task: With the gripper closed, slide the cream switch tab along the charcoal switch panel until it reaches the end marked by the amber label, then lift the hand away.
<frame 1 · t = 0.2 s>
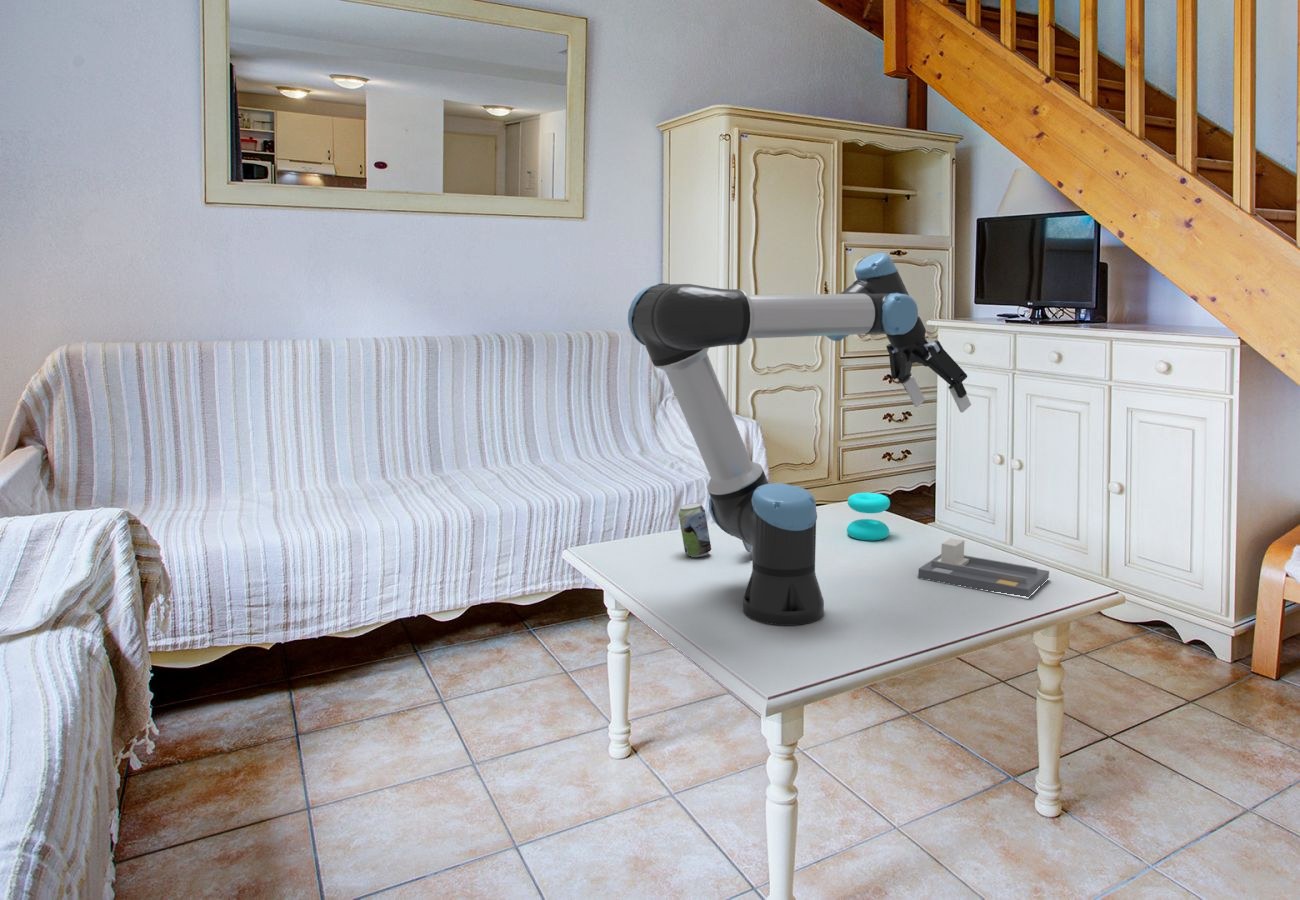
hand: (942, 406, 193), 34 cm above the table, tool tilted 35°, fingers open, 13 cm apart
switch tab: (952, 553, 189), point 4 cm above the table, slide at 0.0 cm
switch panel: (982, 579, 186), on the table
donuts: (867, 537, 218), on the table
pocket watch: (773, 560, 202), on the table
beverage can: (695, 556, 205), on the table
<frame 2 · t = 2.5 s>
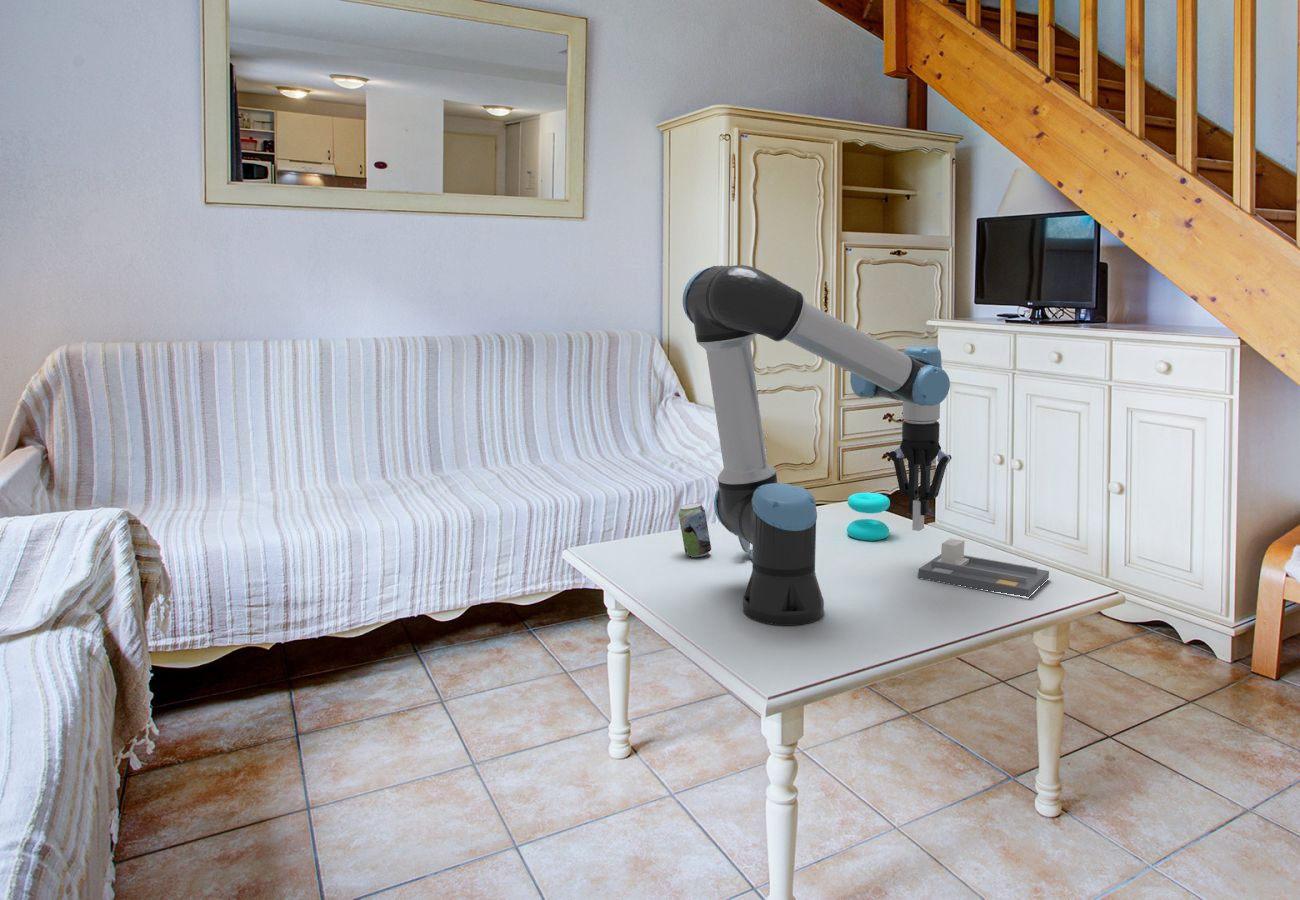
hand: (918, 528, 193), 8 cm above the table, tool pointing down, fingers closed
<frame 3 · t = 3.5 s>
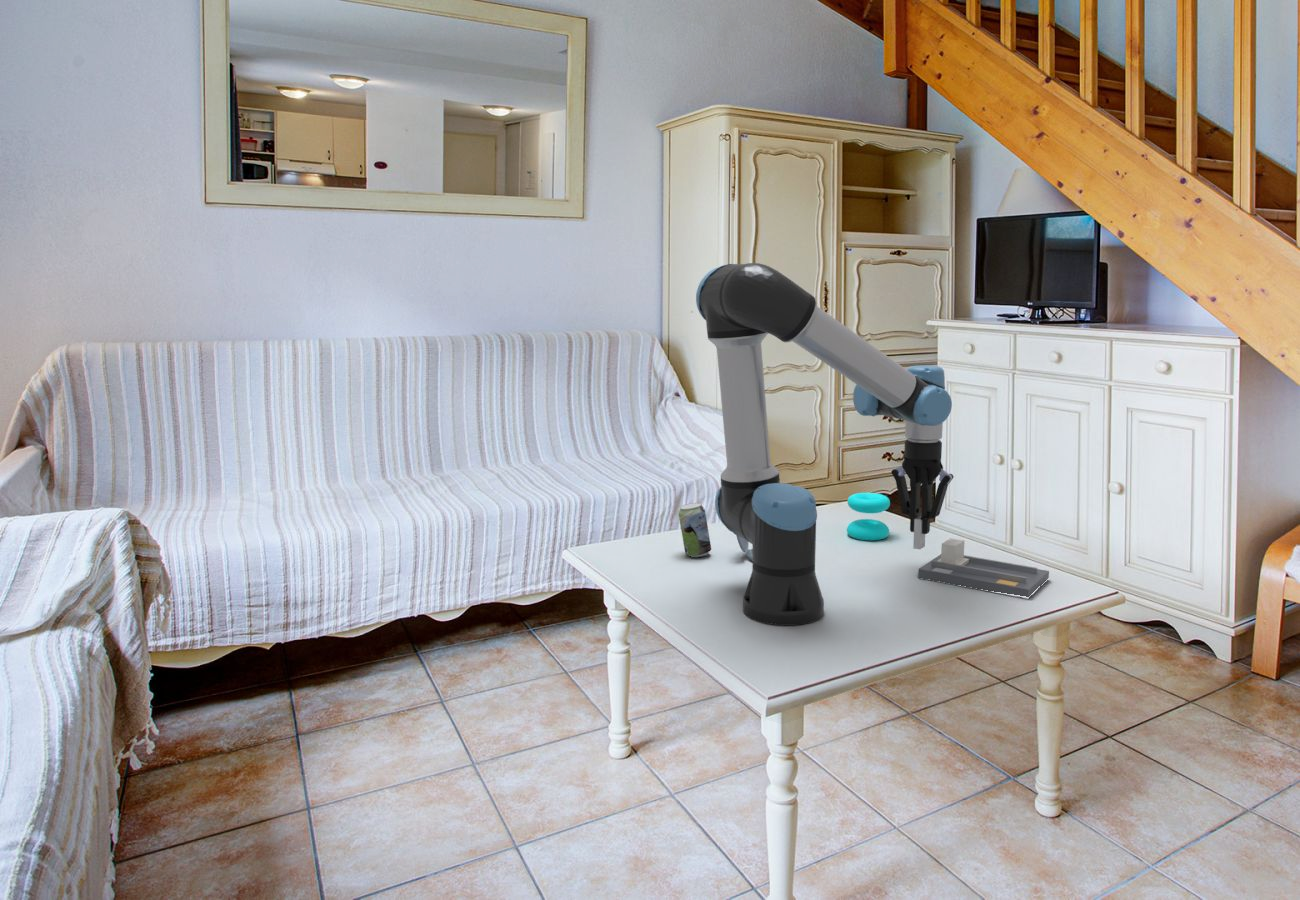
hand: (919, 547, 193), 4 cm above the table, tool pointing down, fingers closed
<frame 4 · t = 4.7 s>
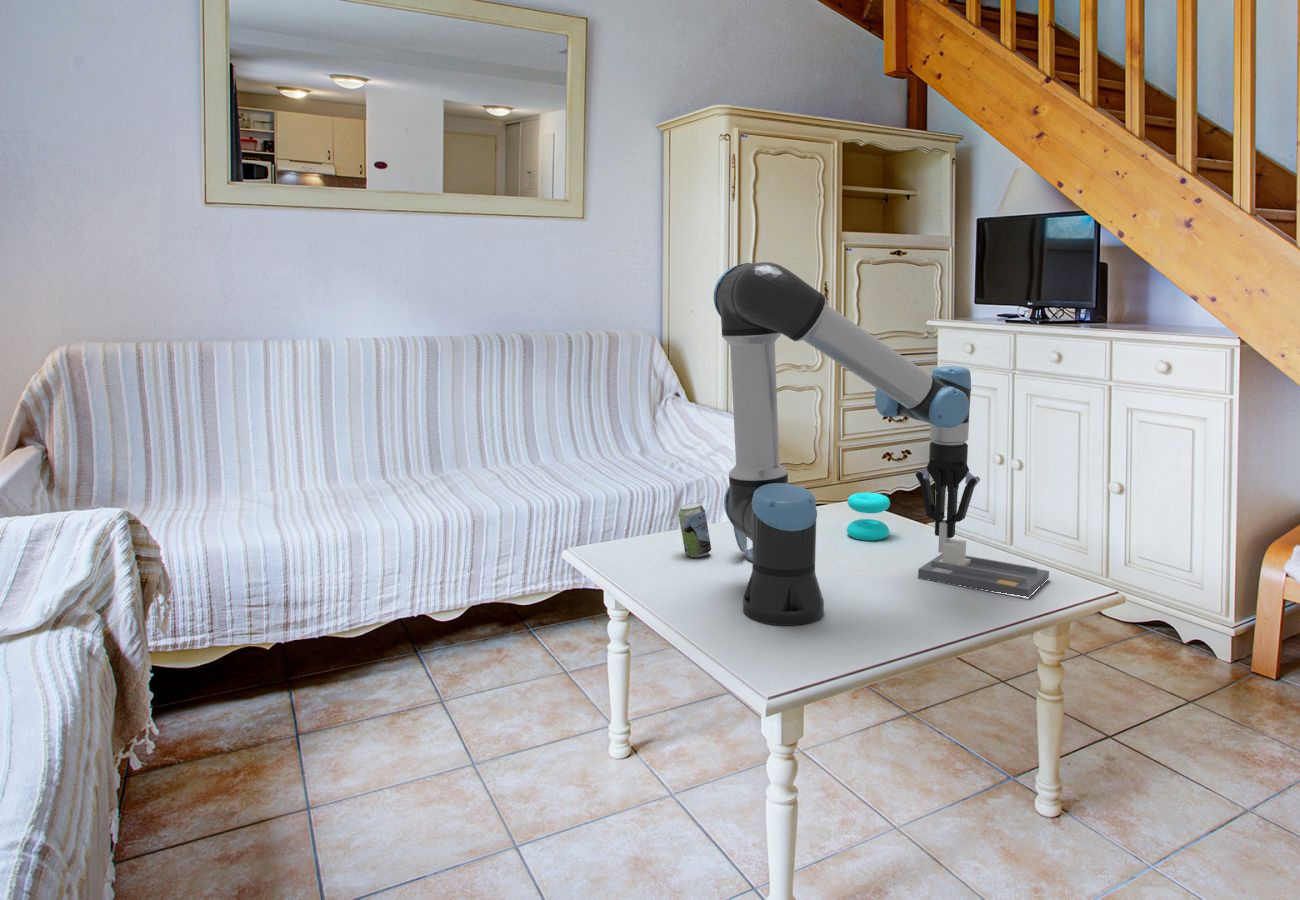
hand: (944, 551, 190), 4 cm above the table, tool pointing down, fingers closed
switch tab: (954, 553, 189), point 4 cm above the table, slide at 0.4 cm, touching gripper
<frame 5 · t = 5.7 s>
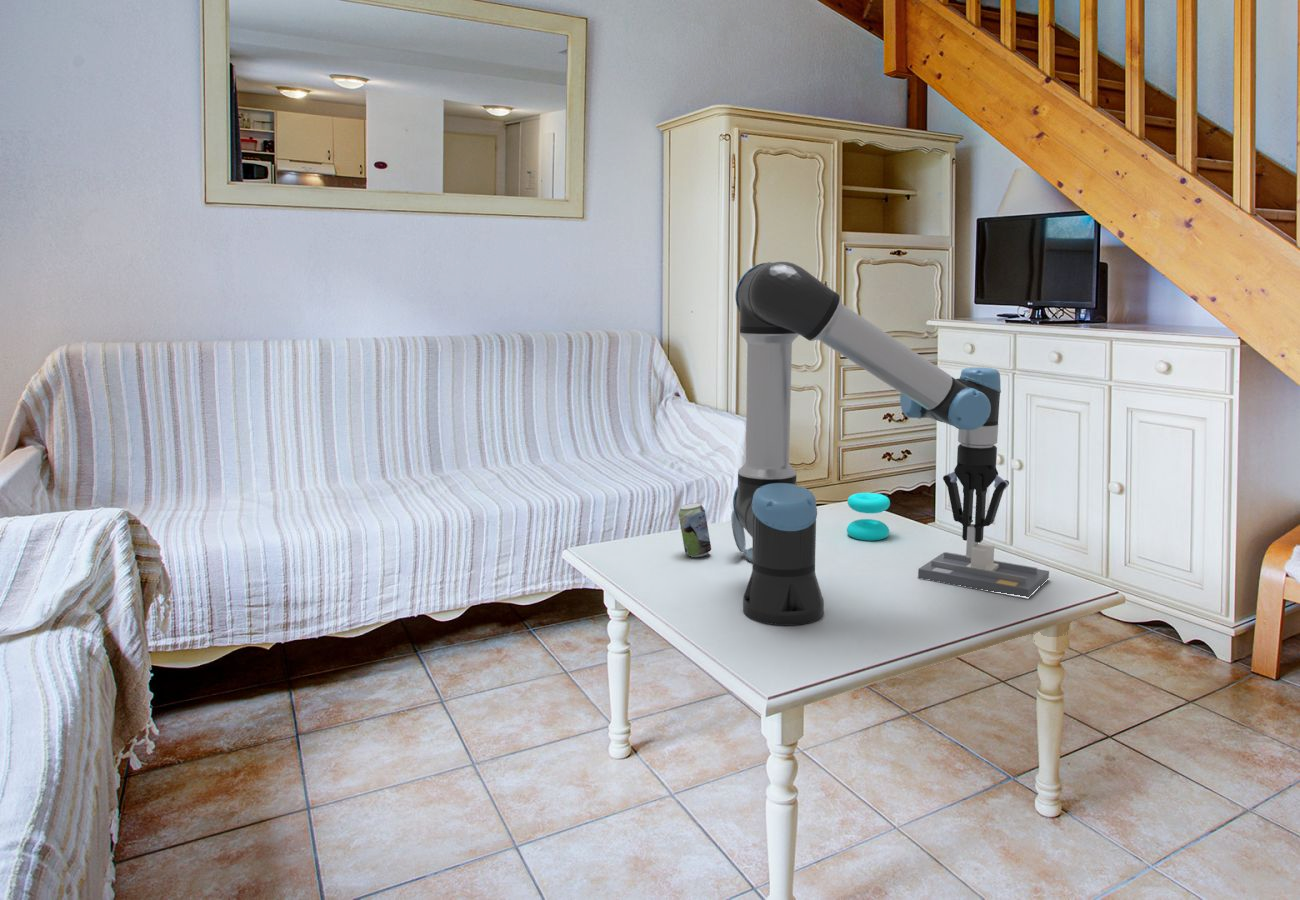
hand: (971, 556, 186), 4 cm above the table, tool pointing down, fingers closed
switch tab: (982, 558, 185), point 4 cm above the table, slide at 6.2 cm, touching gripper
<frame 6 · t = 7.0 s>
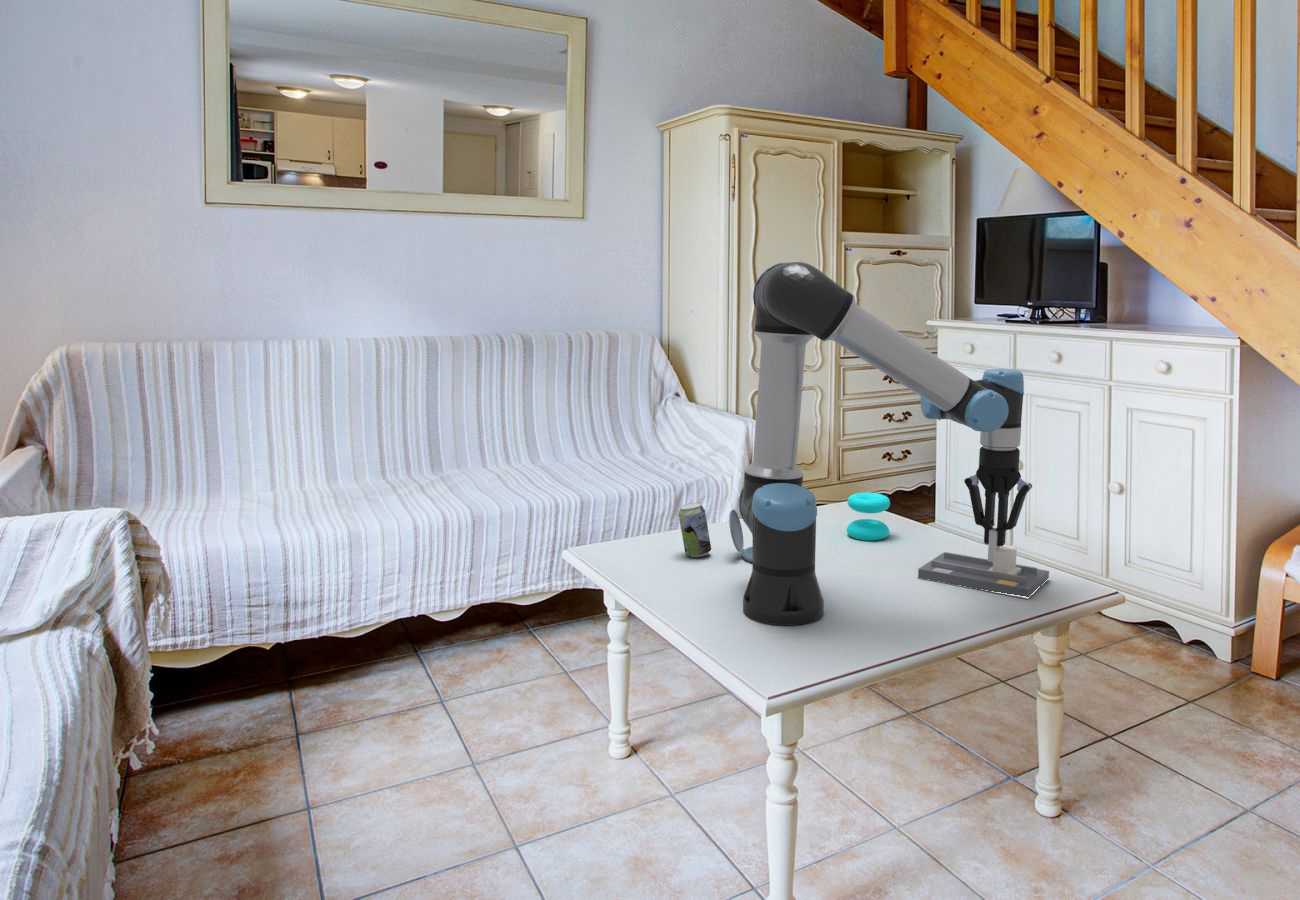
hand: (993, 560, 184), 4 cm above the table, tool pointing down, fingers closed
switch tab: (1004, 562, 182), point 4 cm above the table, slide at 10.7 cm, touching gripper
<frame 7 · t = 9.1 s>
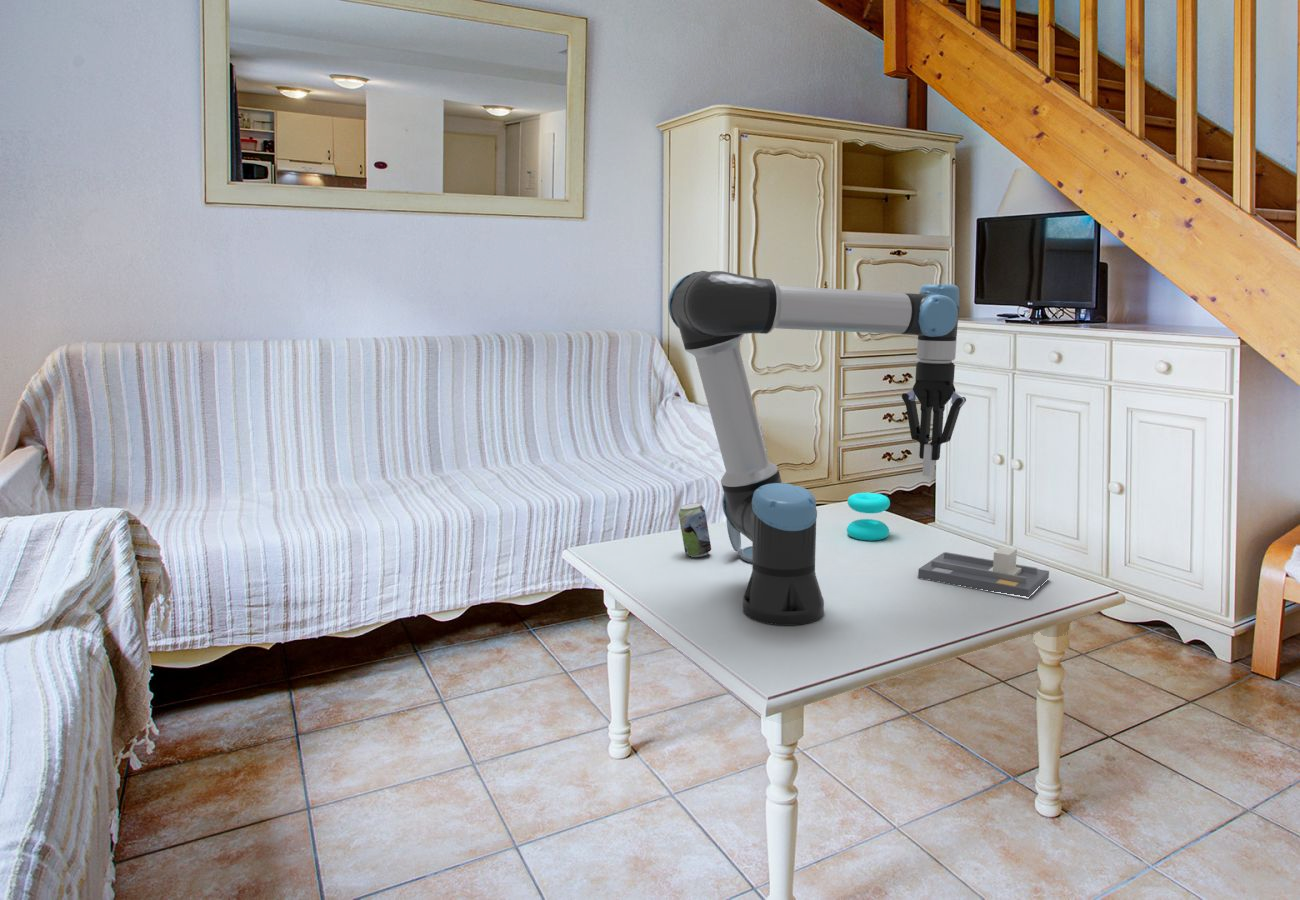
hand: (928, 474, 187), 21 cm above the table, tool pointing down, fingers closed
switch tab: (1004, 562, 182), point 4 cm above the table, slide at 10.7 cm
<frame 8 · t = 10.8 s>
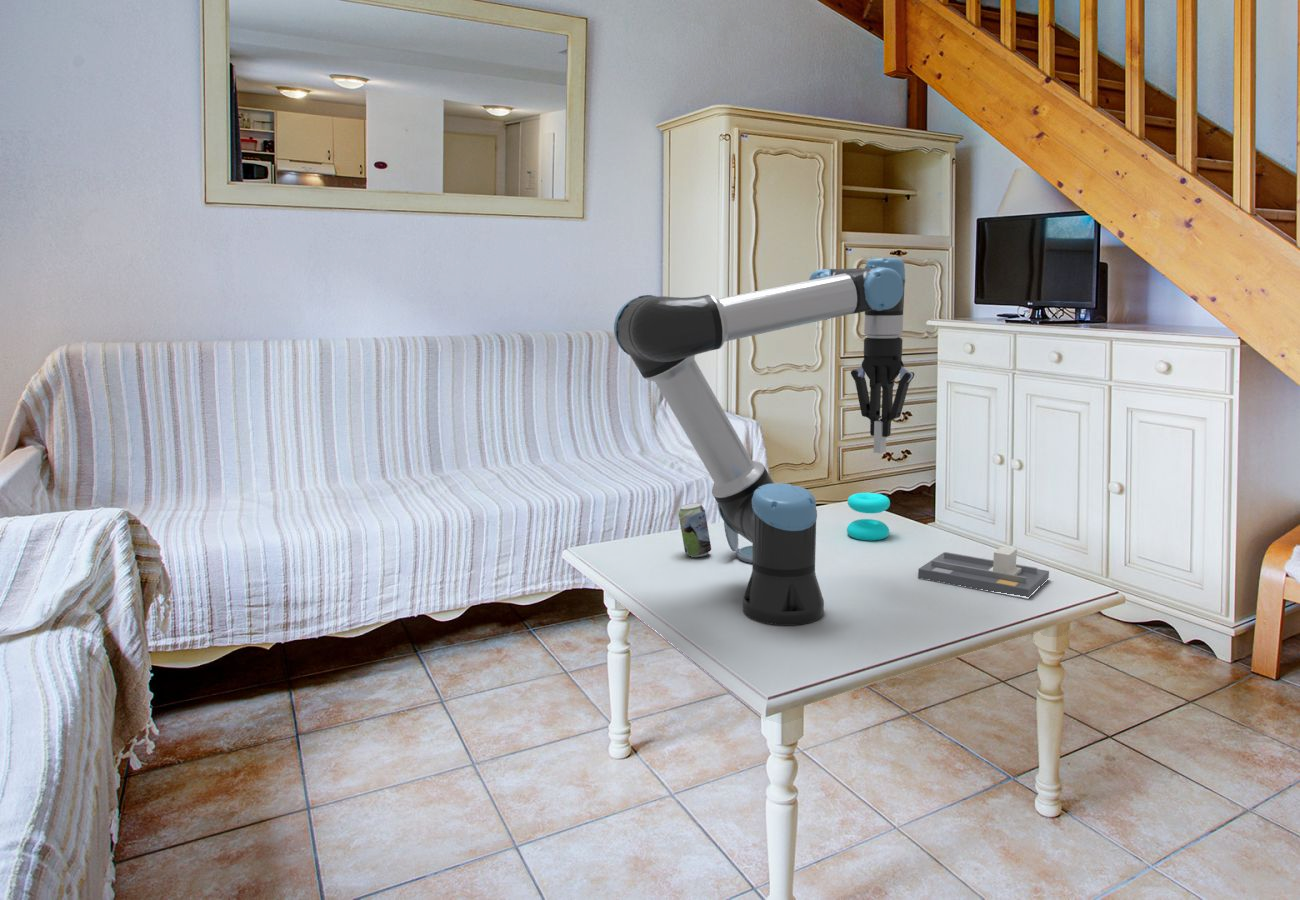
hand: (879, 451, 185), 26 cm above the table, tool pointing down, fingers closed
at the end: switch tab slide at 10.7 cm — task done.
